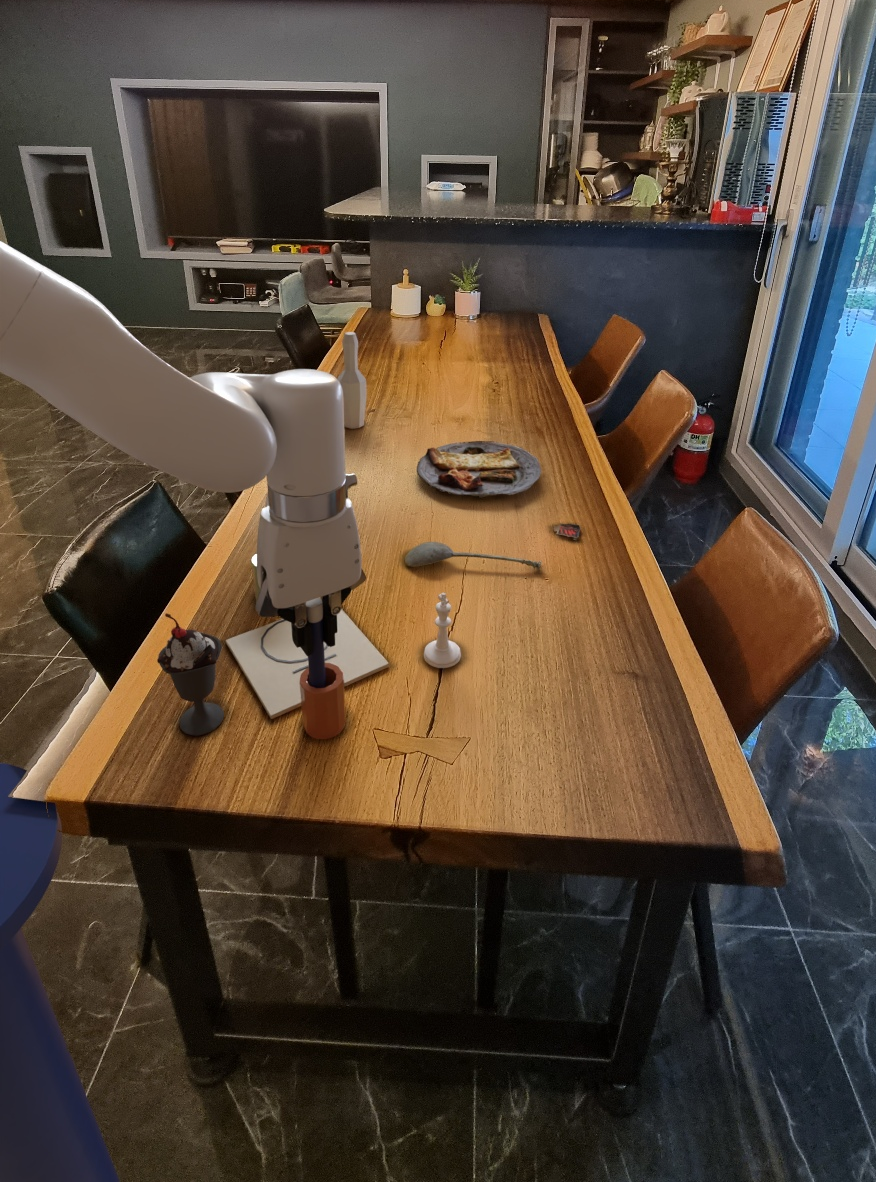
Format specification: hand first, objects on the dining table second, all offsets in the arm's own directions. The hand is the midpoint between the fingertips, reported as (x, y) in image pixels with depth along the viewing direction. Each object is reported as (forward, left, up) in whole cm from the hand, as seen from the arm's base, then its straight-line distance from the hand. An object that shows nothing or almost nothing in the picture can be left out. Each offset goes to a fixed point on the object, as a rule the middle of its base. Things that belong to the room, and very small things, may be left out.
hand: (315, 642), depth 76 cm
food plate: (+54, +42, -12) cm, 70 cm away
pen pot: (0, 0, -12) cm, 12 cm away
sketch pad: (+3, +12, -12) cm, 17 cm away
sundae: (-11, +8, -12) cm, 19 cm away
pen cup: (+4, +26, -12) cm, 29 cm away
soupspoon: (+34, +17, -12) cm, 40 cm away
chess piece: (+18, +2, -12) cm, 22 cm away
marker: (0, 0, -9) cm, 9 cm away
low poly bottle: (+45, +79, -12) cm, 92 cm away
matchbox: (+54, +16, -12) cm, 58 cm away
